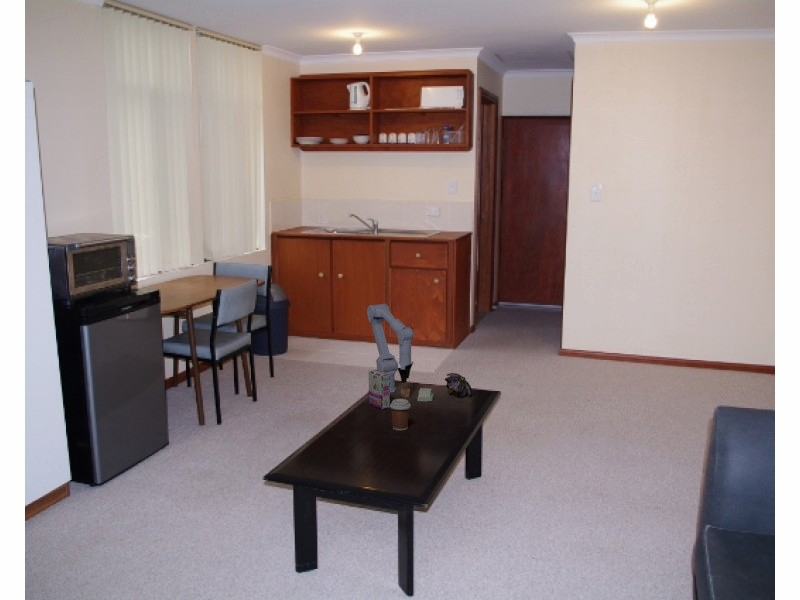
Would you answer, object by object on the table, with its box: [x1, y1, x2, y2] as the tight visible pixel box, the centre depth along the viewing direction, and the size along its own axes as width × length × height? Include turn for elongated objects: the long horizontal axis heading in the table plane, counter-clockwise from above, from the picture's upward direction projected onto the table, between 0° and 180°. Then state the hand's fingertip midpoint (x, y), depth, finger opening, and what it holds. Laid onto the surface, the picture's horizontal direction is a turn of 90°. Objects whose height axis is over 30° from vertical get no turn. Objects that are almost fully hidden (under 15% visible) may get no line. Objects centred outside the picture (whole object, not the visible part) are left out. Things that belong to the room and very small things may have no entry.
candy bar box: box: [368, 369, 391, 410], centre depth 339 cm, size 11×5×16 cm, turn 37°
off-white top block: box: [418, 387, 433, 397], centre depth 350 cm, size 6×6×2 cm
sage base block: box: [417, 392, 435, 402], centre depth 351 cm, size 7×7×2 cm
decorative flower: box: [444, 372, 473, 399], centre depth 356 cm, size 15×12×15 cm
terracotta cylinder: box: [400, 387, 411, 400], centre depth 352 cm, size 4×4×4 cm
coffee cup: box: [389, 398, 412, 431], centre depth 310 cm, size 9×9×12 cm
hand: (405, 380), depth 351 cm, fingers open, 7 cm apart
